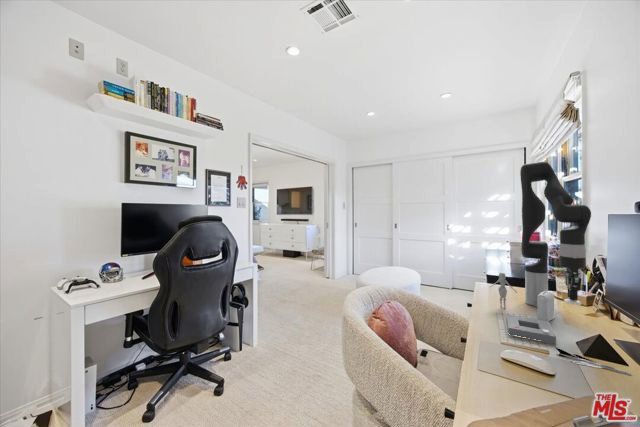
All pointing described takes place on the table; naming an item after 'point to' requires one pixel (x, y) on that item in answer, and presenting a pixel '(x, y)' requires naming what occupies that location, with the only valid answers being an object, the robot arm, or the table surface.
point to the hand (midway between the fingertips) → (572, 298)
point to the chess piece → (572, 301)
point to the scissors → (587, 361)
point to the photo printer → (545, 306)
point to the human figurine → (502, 288)
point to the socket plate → (531, 329)
